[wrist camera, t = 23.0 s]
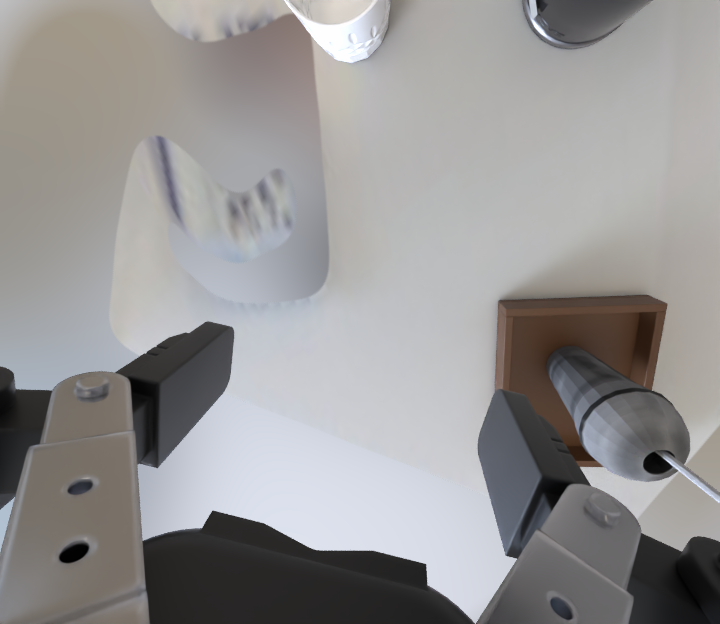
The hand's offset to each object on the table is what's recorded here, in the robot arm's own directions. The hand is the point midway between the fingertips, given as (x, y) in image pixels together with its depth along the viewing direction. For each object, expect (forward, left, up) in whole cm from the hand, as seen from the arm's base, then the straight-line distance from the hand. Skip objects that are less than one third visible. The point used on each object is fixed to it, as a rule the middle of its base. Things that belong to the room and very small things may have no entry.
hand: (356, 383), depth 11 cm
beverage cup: (-5, +23, -29) cm, 38 cm away
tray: (-4, +24, -30) cm, 39 cm away
